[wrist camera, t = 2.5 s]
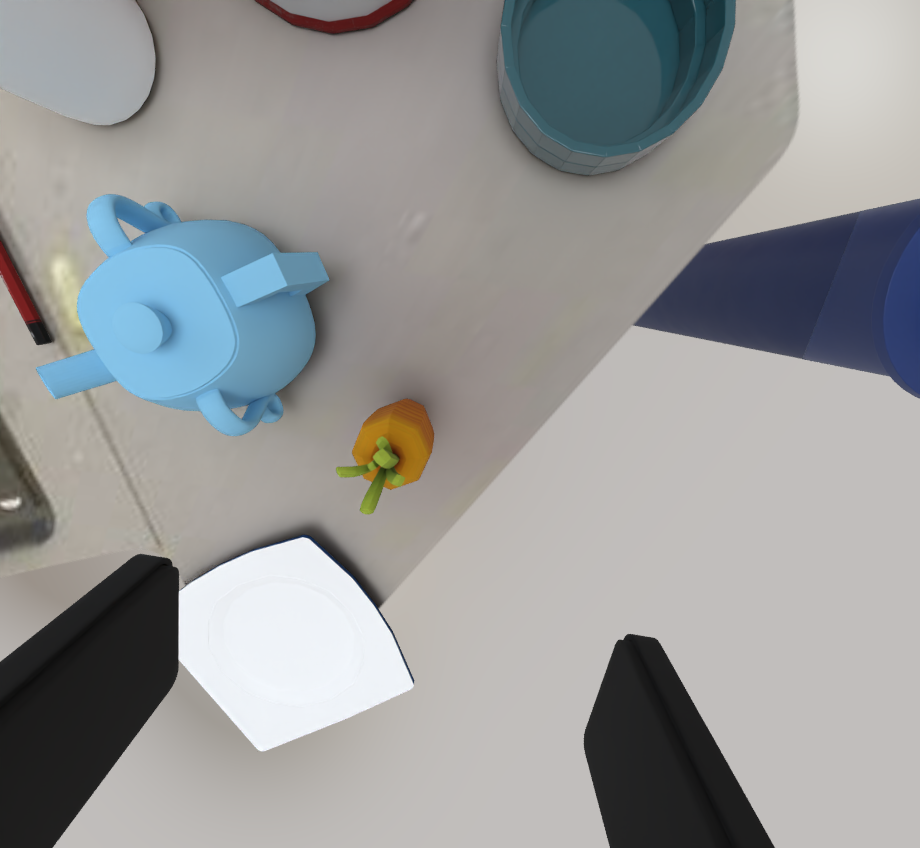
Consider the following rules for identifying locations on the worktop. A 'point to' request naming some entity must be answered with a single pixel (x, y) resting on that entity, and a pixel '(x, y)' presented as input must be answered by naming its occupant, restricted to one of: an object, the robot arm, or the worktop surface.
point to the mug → (77, 56)
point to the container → (335, 13)
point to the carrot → (391, 449)
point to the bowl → (607, 74)
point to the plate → (288, 642)
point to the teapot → (191, 315)
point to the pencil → (22, 299)
